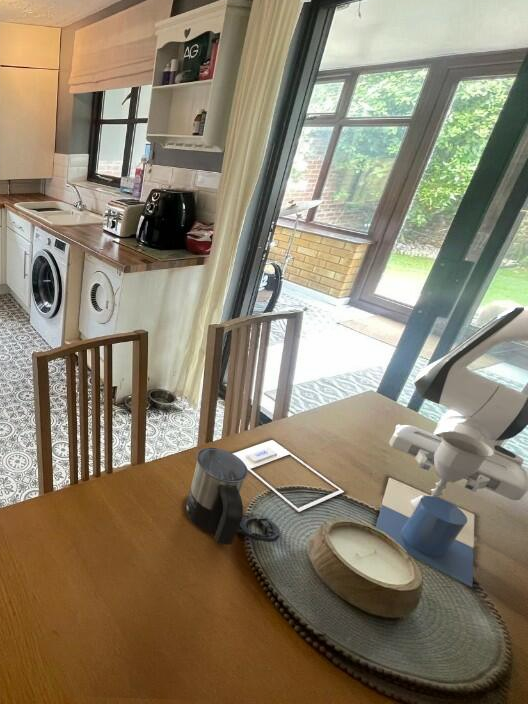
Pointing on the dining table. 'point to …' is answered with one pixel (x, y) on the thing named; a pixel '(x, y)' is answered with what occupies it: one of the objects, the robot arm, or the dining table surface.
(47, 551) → the dining table surface
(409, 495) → the board
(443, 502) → the short blue cylinder
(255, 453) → the photo frame
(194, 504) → the milk frother
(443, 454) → the chalice
